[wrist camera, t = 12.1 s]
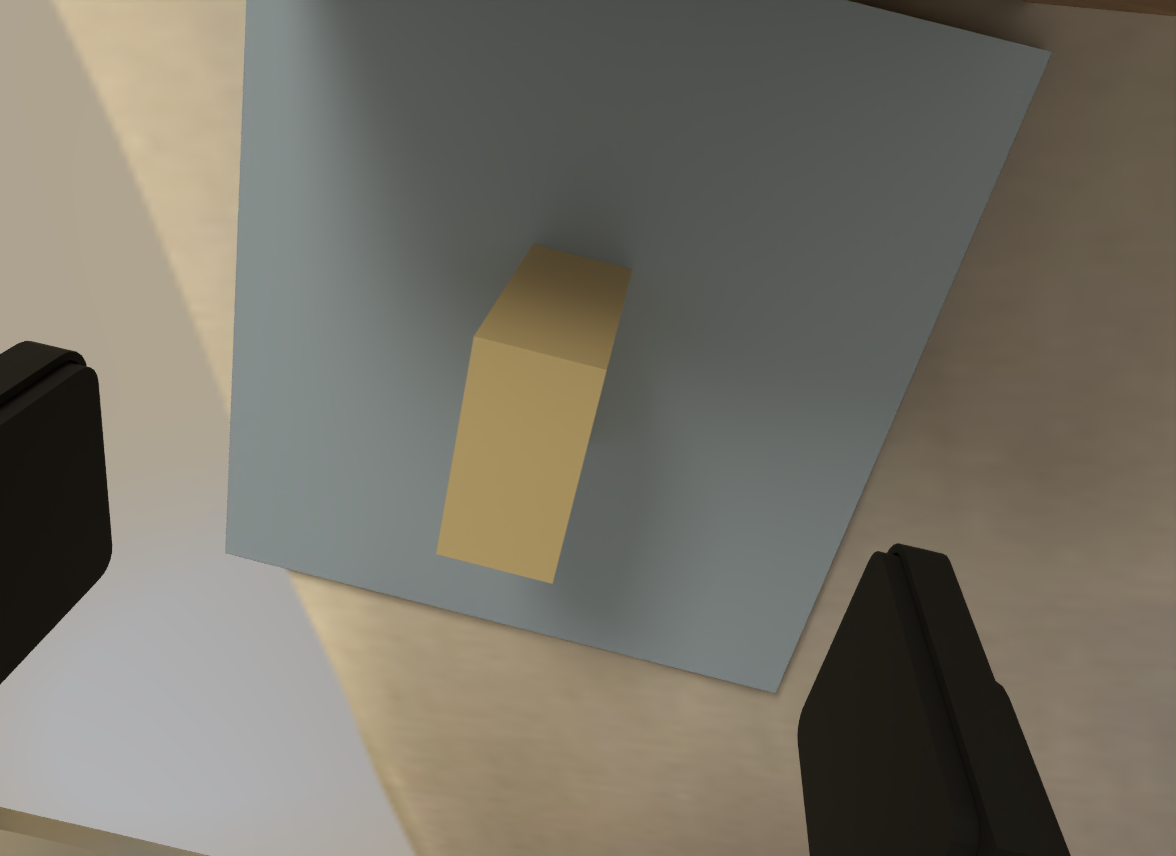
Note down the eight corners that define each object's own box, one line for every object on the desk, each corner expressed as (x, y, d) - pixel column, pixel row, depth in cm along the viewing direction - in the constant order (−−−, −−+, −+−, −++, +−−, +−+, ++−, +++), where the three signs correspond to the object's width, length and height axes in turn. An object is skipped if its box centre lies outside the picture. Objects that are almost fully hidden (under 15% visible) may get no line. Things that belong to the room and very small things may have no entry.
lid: (277, -143, 16) (63, -199, 11) (1033, 47, 16) (1195, 85, 11) (244, 530, 23) (103, 700, 18) (772, 665, 23) (792, 876, 18)
